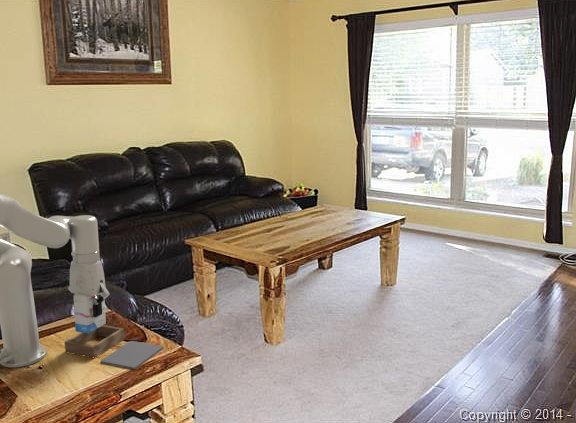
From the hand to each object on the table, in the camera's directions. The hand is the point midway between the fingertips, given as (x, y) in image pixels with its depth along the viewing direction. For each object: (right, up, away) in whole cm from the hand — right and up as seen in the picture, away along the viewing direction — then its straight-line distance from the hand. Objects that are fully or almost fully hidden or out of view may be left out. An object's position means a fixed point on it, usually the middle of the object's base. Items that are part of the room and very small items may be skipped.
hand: (90, 313), depth 170 cm
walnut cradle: (+1, -10, +3) cm, 11 cm away
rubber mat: (+14, -11, -4) cm, 19 cm away
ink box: (0, -5, +1) cm, 5 cm away
